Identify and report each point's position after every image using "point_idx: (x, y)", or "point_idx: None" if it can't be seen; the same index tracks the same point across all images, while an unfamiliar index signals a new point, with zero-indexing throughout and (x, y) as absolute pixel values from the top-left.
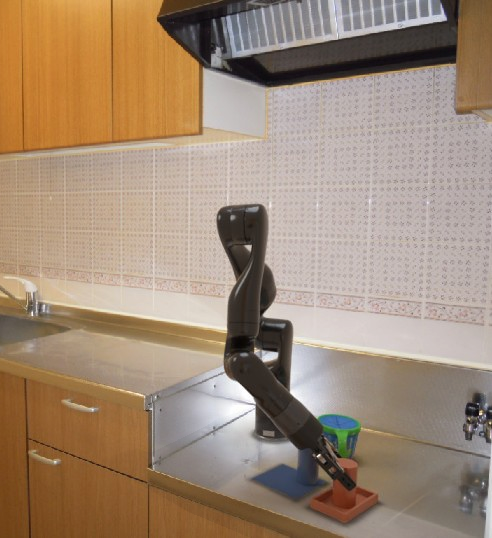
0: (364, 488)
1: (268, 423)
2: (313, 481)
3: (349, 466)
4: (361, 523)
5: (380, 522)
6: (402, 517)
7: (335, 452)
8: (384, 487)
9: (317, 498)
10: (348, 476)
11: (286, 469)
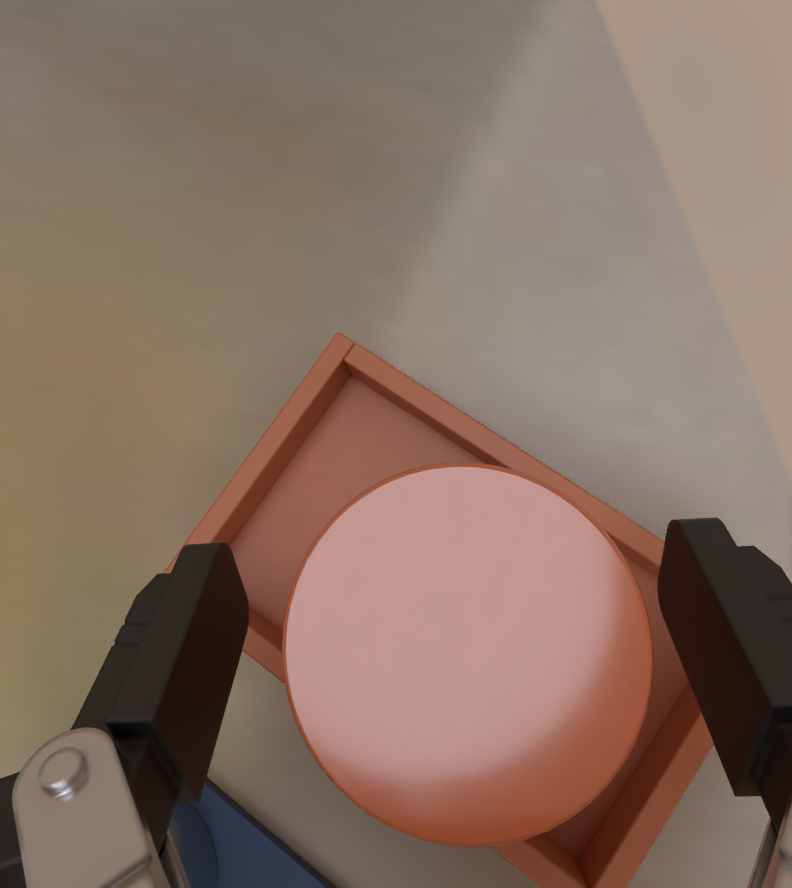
0: (272, 425)
1: None
2: (193, 847)
3: (582, 597)
4: (685, 496)
5: (623, 367)
6: (506, 225)
7: (134, 792)
8: (112, 290)
9: (543, 850)
10: (782, 627)
11: None
